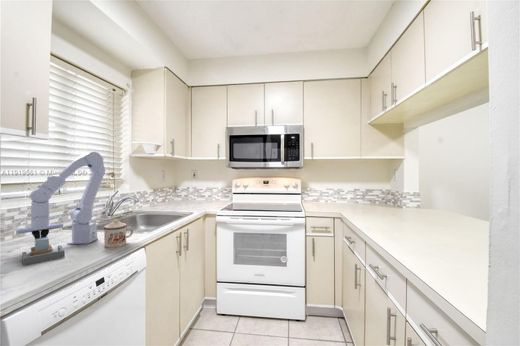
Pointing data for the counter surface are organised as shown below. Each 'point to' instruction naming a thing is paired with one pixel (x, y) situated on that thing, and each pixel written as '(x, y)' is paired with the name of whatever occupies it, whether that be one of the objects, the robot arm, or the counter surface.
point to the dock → (43, 256)
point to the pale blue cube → (41, 243)
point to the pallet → (41, 251)
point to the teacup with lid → (115, 234)
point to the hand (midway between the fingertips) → (40, 247)
